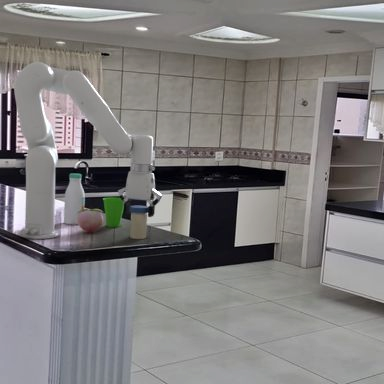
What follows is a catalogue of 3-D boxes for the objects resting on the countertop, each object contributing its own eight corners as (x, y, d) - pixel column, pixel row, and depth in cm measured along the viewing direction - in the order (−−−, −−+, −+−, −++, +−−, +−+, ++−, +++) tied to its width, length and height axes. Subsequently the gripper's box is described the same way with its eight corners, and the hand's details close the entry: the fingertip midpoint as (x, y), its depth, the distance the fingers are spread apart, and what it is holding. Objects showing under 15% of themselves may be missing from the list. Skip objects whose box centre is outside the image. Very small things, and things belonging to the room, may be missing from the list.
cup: (117, 223, 234) (118, 197, 233) (129, 227, 228) (130, 200, 227) (97, 225, 228) (98, 197, 227) (109, 228, 222) (110, 201, 220)
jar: (143, 239, 205) (144, 210, 204) (127, 238, 206) (129, 209, 205) (148, 236, 211) (149, 208, 210) (132, 235, 212) (134, 207, 211)
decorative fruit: (99, 230, 217) (100, 204, 216) (104, 234, 210) (105, 207, 209) (74, 230, 213) (75, 204, 212) (78, 235, 206) (79, 207, 205)
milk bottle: (77, 225, 224) (79, 175, 222) (60, 223, 225) (61, 173, 223) (87, 222, 231) (89, 174, 229) (70, 220, 233) (71, 172, 231)
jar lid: (125, 211, 207) (126, 206, 207) (140, 209, 212) (141, 204, 212) (137, 213, 203) (137, 208, 203) (152, 212, 208) (152, 207, 208)
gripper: (167, 170, 207) (164, 216, 209) (125, 166, 212) (122, 211, 214) (158, 171, 200) (155, 219, 202) (114, 167, 205) (112, 213, 206)
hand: (138, 215), depth 208 cm, fingers open, 9 cm apart
